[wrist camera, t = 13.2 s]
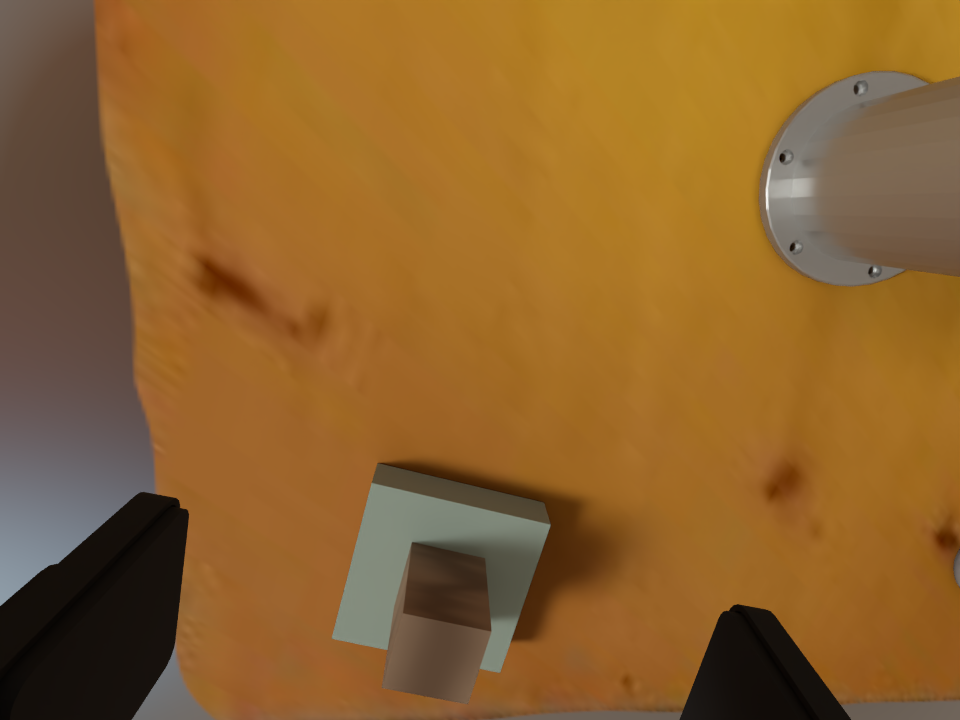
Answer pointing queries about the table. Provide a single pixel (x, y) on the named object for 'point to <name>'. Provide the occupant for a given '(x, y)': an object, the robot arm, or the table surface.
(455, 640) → the walnut block
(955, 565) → the cupcake
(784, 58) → the table surface
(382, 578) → the plate
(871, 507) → the table surface
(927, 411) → the table surface
